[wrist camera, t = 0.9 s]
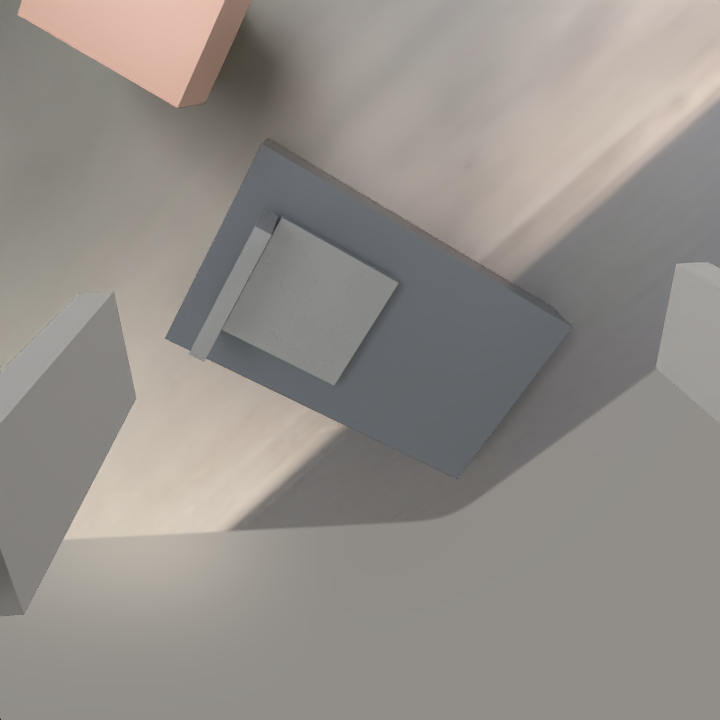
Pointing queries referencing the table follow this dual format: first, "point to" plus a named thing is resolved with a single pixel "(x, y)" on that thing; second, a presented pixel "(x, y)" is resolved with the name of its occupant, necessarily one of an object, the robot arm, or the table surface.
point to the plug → (148, 39)
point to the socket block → (387, 321)
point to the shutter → (297, 298)
